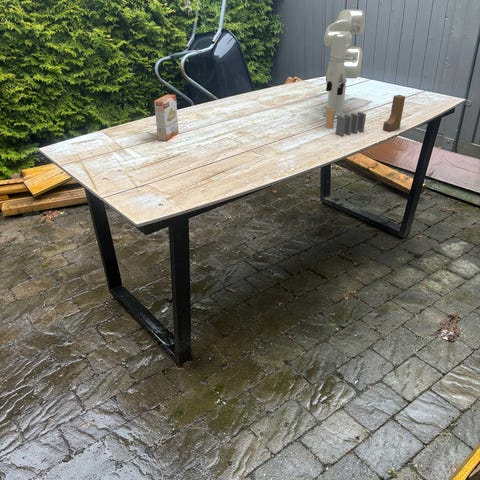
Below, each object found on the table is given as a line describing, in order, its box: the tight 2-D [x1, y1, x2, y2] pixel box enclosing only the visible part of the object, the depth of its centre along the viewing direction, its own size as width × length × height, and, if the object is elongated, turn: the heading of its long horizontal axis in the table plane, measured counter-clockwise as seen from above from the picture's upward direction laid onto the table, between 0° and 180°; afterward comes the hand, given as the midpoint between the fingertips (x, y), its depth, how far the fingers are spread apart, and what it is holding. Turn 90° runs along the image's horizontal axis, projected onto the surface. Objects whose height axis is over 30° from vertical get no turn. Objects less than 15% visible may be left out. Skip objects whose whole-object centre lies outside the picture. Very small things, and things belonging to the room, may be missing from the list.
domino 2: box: [335, 115, 346, 137], centre depth 243 cm, size 5×2×10 cm, turn 26°
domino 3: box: [344, 113, 353, 136], centre depth 245 cm, size 5×2×10 cm, turn 26°
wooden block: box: [382, 94, 406, 133], centre depth 247 cm, size 9×4×18 cm, turn 123°
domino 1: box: [325, 108, 335, 129], centre depth 254 cm, size 5×2×10 cm, turn 26°
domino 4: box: [350, 112, 359, 134], centre depth 246 cm, size 5×2×10 cm, turn 26°
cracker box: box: [153, 94, 179, 142], centre depth 241 cm, size 14×6×21 cm, turn 160°
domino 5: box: [357, 111, 367, 133], centre depth 248 cm, size 5×2×10 cm, turn 26°
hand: (334, 92), depth 246 cm, fingers open, 9 cm apart
